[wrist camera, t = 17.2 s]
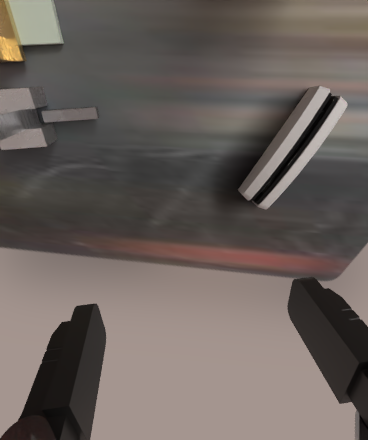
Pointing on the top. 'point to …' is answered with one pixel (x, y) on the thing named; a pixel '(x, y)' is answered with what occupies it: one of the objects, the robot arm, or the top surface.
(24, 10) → the mat
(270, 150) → the white arched piece
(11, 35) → the square loop paddle
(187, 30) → the top surface
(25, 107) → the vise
